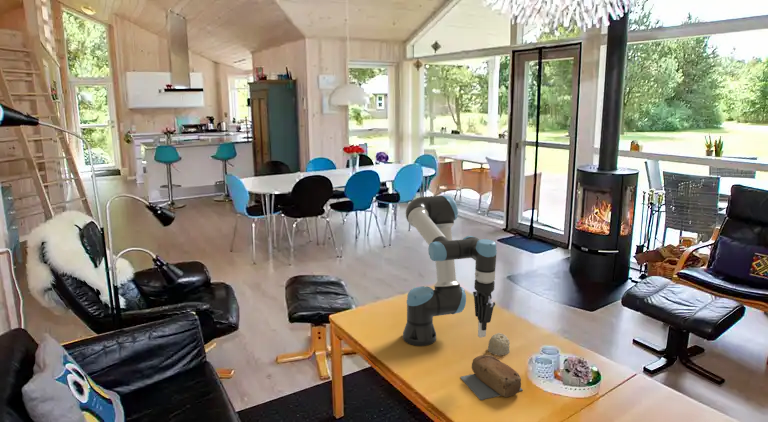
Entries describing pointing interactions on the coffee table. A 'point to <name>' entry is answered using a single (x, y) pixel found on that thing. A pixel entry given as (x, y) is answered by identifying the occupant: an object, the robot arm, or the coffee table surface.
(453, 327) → the coffee table surface
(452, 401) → the coffee table surface
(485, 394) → the mat
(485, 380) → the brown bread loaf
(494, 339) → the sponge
